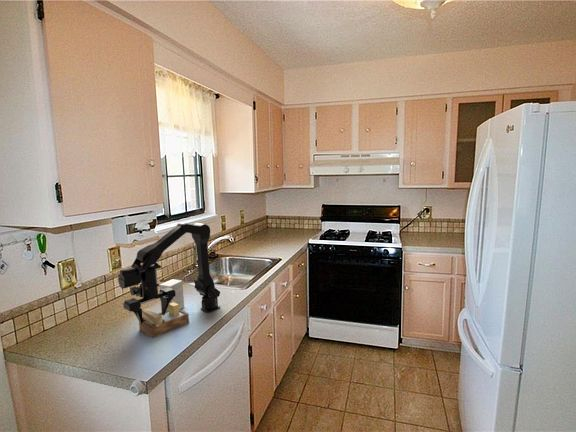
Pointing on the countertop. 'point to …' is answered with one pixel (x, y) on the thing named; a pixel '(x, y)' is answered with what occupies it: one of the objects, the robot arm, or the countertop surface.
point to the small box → (178, 289)
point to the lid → (170, 313)
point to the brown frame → (164, 325)
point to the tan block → (152, 317)
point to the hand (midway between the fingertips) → (152, 319)
